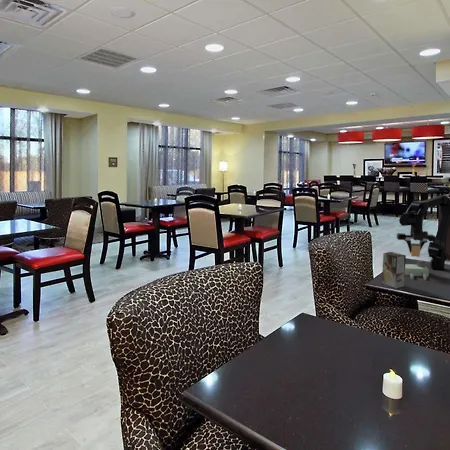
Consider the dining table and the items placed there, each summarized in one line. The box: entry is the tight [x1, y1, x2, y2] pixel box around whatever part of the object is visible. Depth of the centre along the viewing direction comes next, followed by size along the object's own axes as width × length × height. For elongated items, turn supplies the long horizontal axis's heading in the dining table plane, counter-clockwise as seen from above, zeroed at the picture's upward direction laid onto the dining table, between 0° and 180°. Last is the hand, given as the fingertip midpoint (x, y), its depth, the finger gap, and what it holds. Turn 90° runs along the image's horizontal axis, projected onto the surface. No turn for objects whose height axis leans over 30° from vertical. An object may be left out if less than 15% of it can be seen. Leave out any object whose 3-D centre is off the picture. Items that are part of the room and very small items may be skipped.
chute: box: [408, 242, 421, 258], centre depth 214 cm, size 4×7×7 cm, turn 164°
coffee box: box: [381, 251, 407, 289], centre depth 195 cm, size 9×6×16 cm
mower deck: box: [405, 260, 430, 281], centre depth 211 cm, size 12×16×6 cm
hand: (414, 252), depth 214 cm, fingers closed on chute, 4 cm apart
